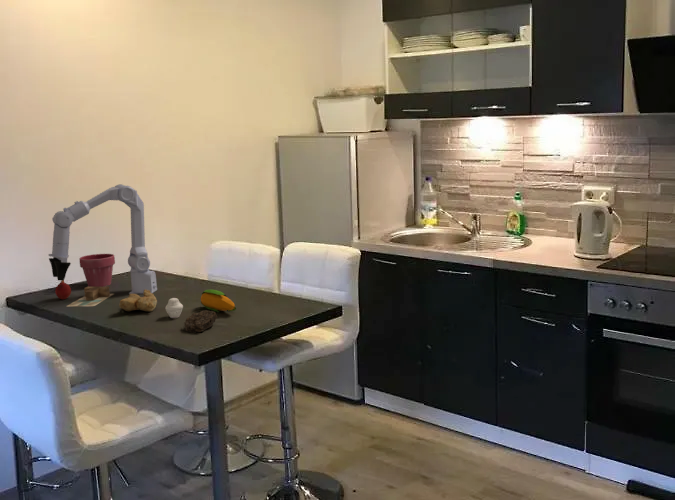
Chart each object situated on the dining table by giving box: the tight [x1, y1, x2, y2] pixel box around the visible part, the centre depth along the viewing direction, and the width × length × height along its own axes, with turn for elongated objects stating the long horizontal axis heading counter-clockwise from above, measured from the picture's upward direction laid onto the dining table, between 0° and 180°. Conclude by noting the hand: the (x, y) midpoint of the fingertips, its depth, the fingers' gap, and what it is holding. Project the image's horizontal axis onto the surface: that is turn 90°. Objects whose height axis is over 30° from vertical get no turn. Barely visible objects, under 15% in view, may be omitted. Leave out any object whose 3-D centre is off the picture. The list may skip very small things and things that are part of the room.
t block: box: [83, 286, 111, 301], centre depth 288 cm, size 9×8×4 cm
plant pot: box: [79, 253, 116, 287], centre depth 310 cm, size 14×14×13 cm
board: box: [67, 293, 114, 307], centre depth 285 cm, size 11×19×1 cm, turn 174°
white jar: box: [164, 297, 184, 319], centre depth 258 cm, size 6×6×7 cm
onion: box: [54, 279, 72, 300], centre depth 288 cm, size 6×6×8 cm
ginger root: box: [118, 289, 158, 312], centre depth 269 cm, size 16×16×8 cm
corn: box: [200, 288, 237, 313], centre depth 265 cm, size 7×8×20 cm
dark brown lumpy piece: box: [183, 310, 218, 333], centre depth 244 cm, size 12×10×5 cm
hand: (58, 278), depth 278 cm, fingers open, 7 cm apart
